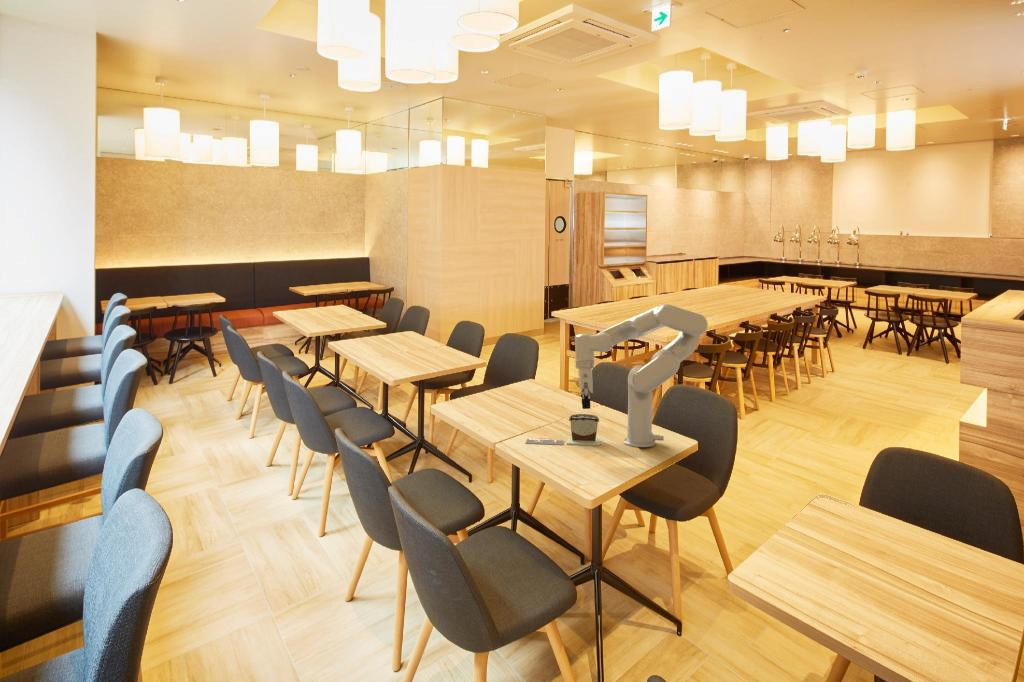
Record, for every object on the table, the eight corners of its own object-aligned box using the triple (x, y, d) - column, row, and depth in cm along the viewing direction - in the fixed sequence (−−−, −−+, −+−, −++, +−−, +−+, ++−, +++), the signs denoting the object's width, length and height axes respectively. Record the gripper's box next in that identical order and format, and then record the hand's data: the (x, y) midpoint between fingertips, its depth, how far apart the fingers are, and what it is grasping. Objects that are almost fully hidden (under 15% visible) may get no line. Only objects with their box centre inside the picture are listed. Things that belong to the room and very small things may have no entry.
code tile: (563, 438, 230) (563, 437, 230) (563, 445, 219) (563, 444, 219) (527, 437, 232) (527, 436, 232) (525, 443, 221) (525, 443, 221)
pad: (598, 438, 230) (598, 437, 230) (599, 445, 219) (600, 444, 219) (567, 437, 231) (567, 436, 231) (567, 444, 220) (567, 443, 220)
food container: (598, 438, 229) (599, 414, 228) (599, 441, 222) (599, 417, 222) (568, 436, 230) (569, 413, 229) (568, 440, 224) (568, 416, 223)
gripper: (595, 366, 214) (596, 410, 215) (593, 362, 231) (594, 402, 232) (575, 367, 214) (576, 410, 216) (575, 362, 232) (576, 402, 233)
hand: (586, 406), depth 224 cm, fingers open, 9 cm apart
